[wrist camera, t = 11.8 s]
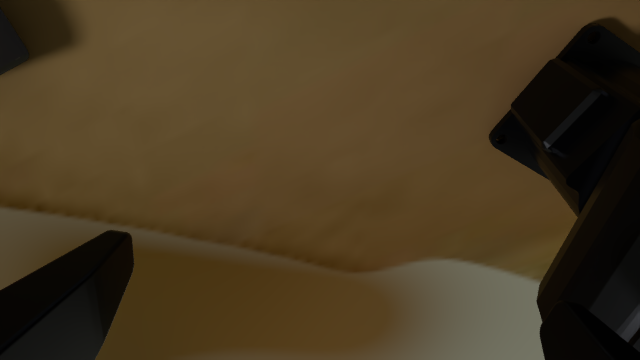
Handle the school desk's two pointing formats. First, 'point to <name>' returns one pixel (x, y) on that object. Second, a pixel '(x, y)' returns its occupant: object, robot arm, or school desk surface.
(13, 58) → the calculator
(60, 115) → the school desk surface
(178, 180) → the school desk surface
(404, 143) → the school desk surface
